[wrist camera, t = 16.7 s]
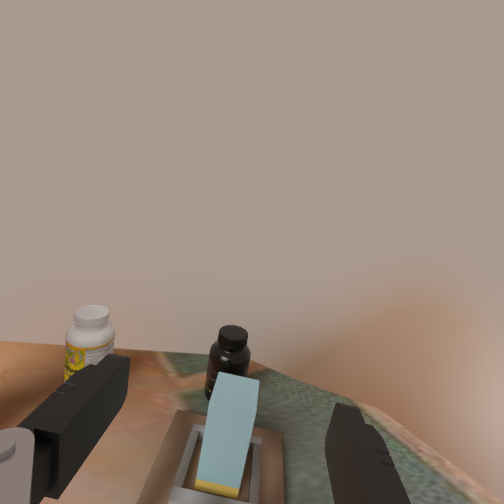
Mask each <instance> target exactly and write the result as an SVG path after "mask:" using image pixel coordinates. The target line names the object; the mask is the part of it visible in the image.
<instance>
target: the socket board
mask: <svg viewBox="0 0 504 504" xmlns="http://www.w3.org/2000/svg"><path fill="white" fill-rule="evenodd" d="M206 419H207V416H204V415H199V414H195V413H190V412H186V411H181V410H177V412H176V414H175V417H174V419H173V421H172V424H171V426H170V428H169V430H168V433H167V435H166V437H165V440H164V442H163V444H162V446H161V449H160V451H159V453H158V456H157V458H156V460H155V463H154V465H153V467H152V469H151V472H150V474H149V476H148V479H147V481H146V483H145V485H144V488H143V490H142V492H141V495H140V497H139V499H138V502H137V504H284V473H283V438H282V432H277V431H273V430H268V429H264V428H259V427H254V426H253V430H252V434H251V439H250V443H249V448H248V452H247V457H246V461H245V466H244V470H243V475H242V479H241V484H240V488H239V493H238V497H237V499H235V498H230V497H226V496H222V495H218V494H213V493H209V492H205V491H201V490H197V489H194V488H195V482H196V476H197V471H198V465H199V459H200V453H201V448H202V442H203V436H204V431H205V425H206Z"/></svg>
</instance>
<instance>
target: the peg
mask: <svg viewBox="0 0 504 504" xmlns="http://www.w3.org/2000/svg"><path fill="white" fill-rule="evenodd" d="M258 390H259V380H255V379H251V378H246V377H241V376H237V375H232V374H228V373H223V372H219V373H218V376H217V380H216V383H215V386H214V389H213V392H212V395H211V399H210V402H209V408H208V413H207V419H206V425H205V431H204V436H203V442H202V448H201V453H200V459H199V465H198V471H197V476H196V482H195V488H194V489H197V490H201V491H205V492H209V493H213V494H218V495H222V496H226V497H230V498H235V499H237V497H238V493H239V488H240V484H241V479H242V475H243V470H244V466H245V461H246V457H247V452H248V448H249V443H250V439H251V434H252V430H253V425H254V421H255V416H256V411H257V400H258Z"/></svg>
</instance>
